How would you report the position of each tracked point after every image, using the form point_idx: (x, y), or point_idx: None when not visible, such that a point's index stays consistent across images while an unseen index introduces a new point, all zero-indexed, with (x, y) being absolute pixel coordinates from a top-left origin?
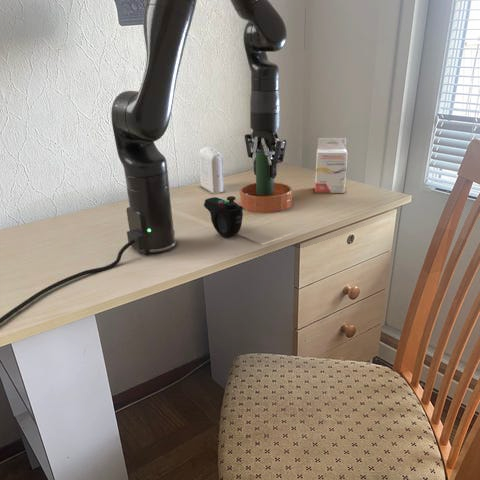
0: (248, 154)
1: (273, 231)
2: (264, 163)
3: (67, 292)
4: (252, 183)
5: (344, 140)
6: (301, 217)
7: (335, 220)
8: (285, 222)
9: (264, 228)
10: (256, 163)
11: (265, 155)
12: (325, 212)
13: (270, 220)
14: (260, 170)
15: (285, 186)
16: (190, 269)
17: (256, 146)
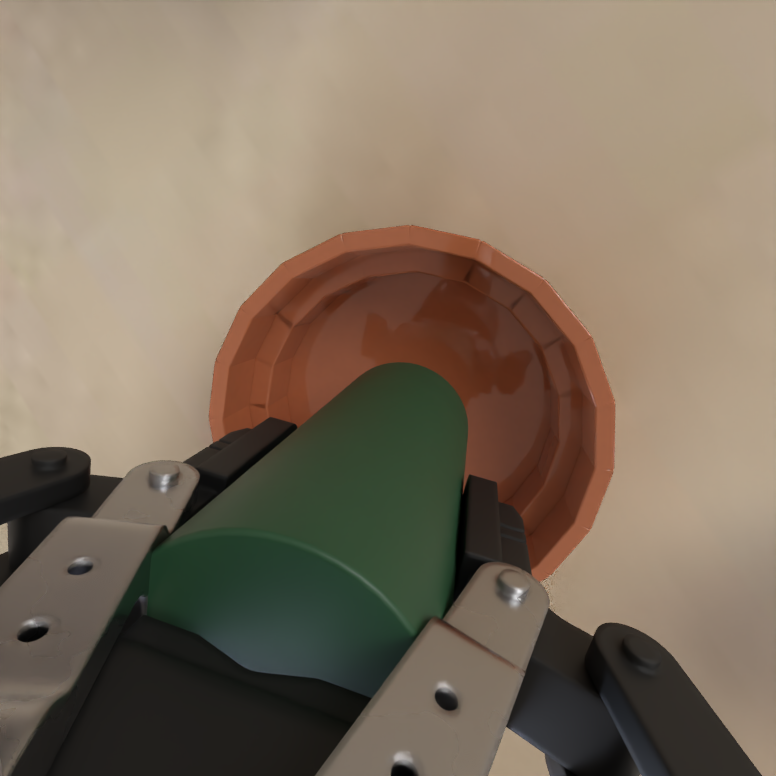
0: (656, 663)
1: (115, 39)
2: (252, 466)
3: None
4: (581, 529)
5: None
6: (140, 328)
7: (8, 374)
8: (154, 211)
9: (181, 45)
10: (398, 473)
11: (160, 526)
12: (101, 451)
13: (235, 189)
14: (340, 420)
15: None
16: None
17: (358, 737)
